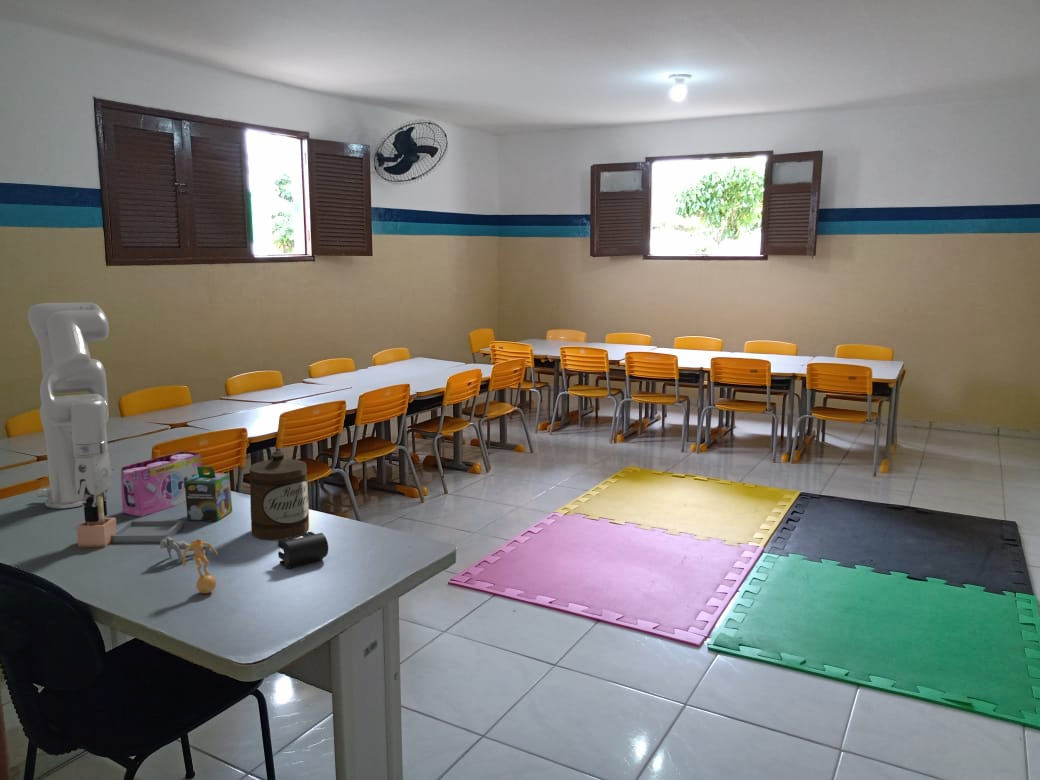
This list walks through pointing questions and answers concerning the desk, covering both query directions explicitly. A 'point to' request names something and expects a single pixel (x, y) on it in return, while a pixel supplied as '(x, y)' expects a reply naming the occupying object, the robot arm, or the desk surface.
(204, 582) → the figurine
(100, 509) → the dowel
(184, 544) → the soldier figurine
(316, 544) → the end cap
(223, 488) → the chalk box
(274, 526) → the wooden container
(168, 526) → the tray
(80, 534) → the pink open box
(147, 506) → the gum box
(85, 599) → the desk surface
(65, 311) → the robot arm
